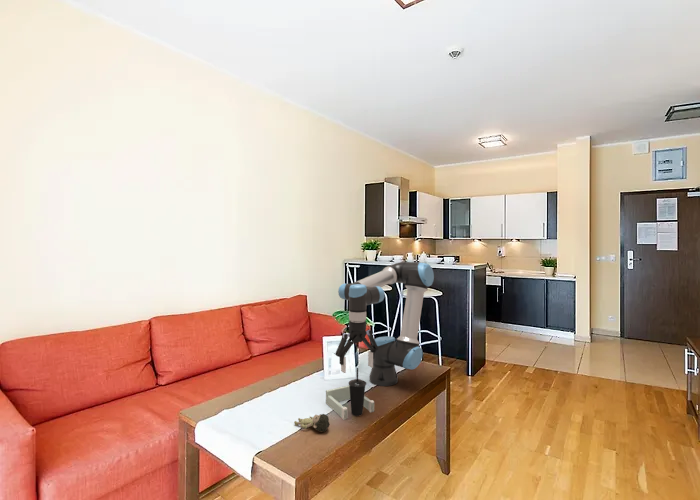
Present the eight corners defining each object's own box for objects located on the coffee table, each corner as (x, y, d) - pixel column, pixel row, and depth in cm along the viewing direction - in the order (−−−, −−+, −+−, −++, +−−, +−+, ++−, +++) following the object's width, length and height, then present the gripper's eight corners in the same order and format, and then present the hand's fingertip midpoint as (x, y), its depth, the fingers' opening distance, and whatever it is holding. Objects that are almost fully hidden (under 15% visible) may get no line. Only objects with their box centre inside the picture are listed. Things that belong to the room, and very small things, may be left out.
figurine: (300, 410, 159) (331, 410, 152) (303, 425, 158) (334, 426, 152) (289, 418, 152) (321, 419, 145) (292, 434, 151) (324, 435, 145)
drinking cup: (364, 418, 160) (364, 372, 159) (346, 416, 161) (347, 370, 160) (367, 410, 167) (367, 365, 166) (350, 408, 169) (350, 364, 168)
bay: (354, 396, 181) (354, 384, 181) (374, 411, 166) (374, 398, 166) (325, 403, 174) (325, 390, 173) (343, 419, 158) (343, 405, 158)
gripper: (377, 315, 171) (376, 361, 172) (327, 322, 159) (327, 371, 160) (386, 319, 165) (386, 366, 166) (335, 325, 153) (335, 377, 154)
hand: (357, 369), depth 163 cm, fingers open, 13 cm apart
